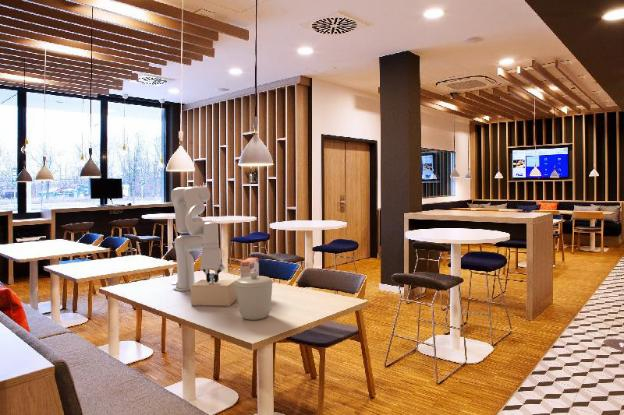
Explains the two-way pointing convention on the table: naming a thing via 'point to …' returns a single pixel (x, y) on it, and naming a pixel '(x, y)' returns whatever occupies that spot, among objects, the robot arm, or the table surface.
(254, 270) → the cracker box
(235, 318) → the table surface
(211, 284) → the near flap
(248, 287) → the canister
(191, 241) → the robot arm
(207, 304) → the carton
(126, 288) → the table surface
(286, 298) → the table surface
